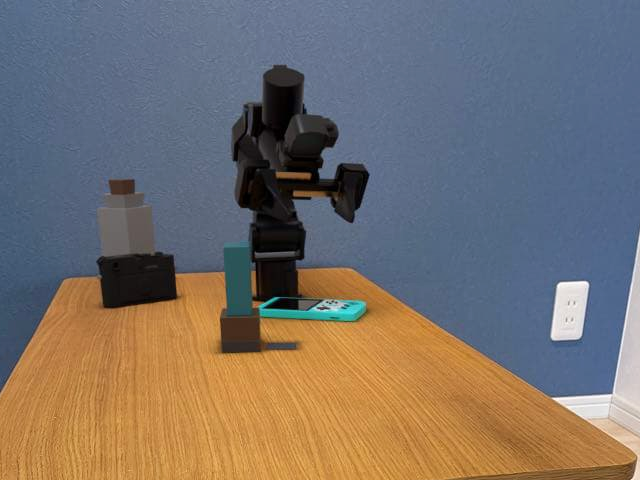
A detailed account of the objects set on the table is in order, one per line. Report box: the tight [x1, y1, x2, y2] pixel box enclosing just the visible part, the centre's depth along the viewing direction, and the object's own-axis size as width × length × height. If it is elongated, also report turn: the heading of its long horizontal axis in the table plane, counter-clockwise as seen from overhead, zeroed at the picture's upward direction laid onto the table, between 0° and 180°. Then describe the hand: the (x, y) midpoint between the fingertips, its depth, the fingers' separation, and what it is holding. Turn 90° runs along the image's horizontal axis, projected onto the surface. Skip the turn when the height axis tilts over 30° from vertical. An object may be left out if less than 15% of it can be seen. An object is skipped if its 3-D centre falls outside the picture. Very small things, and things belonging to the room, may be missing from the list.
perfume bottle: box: [96, 178, 156, 257], centre depth 153 cm, size 7×7×18 cm
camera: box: [95, 251, 178, 309], centre depth 142 cm, size 14×7×8 cm, turn 124°
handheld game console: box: [256, 297, 367, 322], centre depth 132 cm, size 10×16×1 cm, turn 72°
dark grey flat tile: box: [265, 341, 298, 351], centre depth 113 cm, size 4×4×1 cm
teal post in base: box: [219, 241, 262, 354], centre depth 111 cm, size 6×5×13 cm
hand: (322, 219), depth 114 cm, fingers open, 9 cm apart
